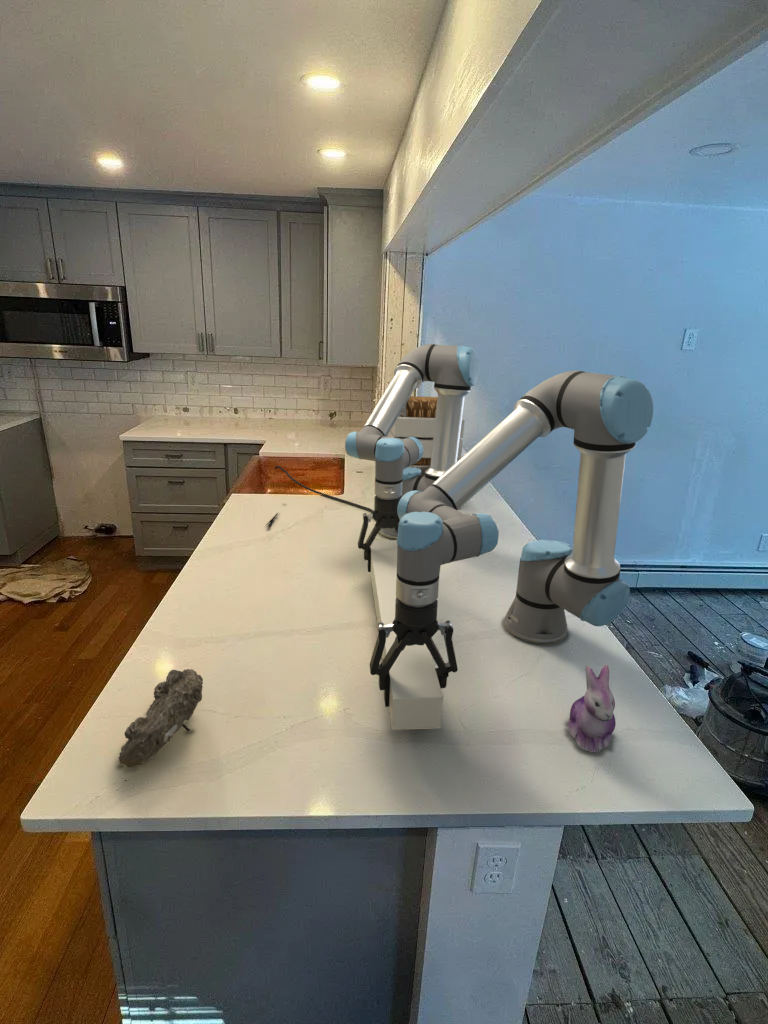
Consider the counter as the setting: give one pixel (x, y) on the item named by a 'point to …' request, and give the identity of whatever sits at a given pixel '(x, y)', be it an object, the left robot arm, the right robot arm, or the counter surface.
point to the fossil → (162, 717)
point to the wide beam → (404, 653)
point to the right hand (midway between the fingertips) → (411, 701)
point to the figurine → (594, 713)
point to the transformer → (420, 425)
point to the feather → (271, 521)
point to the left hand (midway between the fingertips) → (385, 569)
